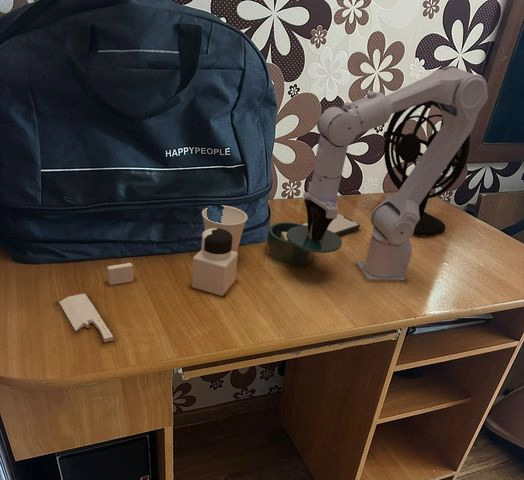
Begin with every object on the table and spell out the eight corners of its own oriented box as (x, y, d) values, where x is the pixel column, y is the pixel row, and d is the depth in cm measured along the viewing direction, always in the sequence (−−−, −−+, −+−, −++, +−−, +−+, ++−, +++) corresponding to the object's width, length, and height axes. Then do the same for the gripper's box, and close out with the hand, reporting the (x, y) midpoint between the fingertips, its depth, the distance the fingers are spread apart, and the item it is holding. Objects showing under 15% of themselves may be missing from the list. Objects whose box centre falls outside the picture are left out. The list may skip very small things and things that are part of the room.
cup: (236, 274, 111) (241, 228, 105) (193, 265, 112) (195, 218, 106) (246, 254, 119) (252, 210, 113) (206, 246, 120) (209, 201, 113)
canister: (305, 244, 127) (309, 223, 124) (317, 266, 119) (322, 244, 115) (262, 243, 125) (265, 221, 121) (271, 266, 116) (275, 242, 113)
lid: (331, 230, 116) (335, 212, 114) (348, 255, 107) (353, 237, 104) (280, 229, 113) (283, 210, 111) (293, 255, 104) (297, 235, 102)
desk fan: (353, 207, 152) (384, 78, 130) (393, 200, 161) (429, 78, 139) (421, 246, 135) (469, 106, 114) (461, 236, 144) (513, 104, 123)
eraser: (108, 282, 102) (107, 266, 100) (131, 278, 105) (130, 262, 103) (110, 285, 102) (109, 269, 99) (133, 281, 104) (132, 265, 102)
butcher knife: (84, 347, 85) (83, 342, 85) (59, 303, 95) (58, 298, 94) (113, 340, 88) (113, 335, 87) (86, 297, 97) (85, 292, 96)
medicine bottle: (235, 281, 109) (240, 230, 102) (222, 297, 103) (227, 243, 96) (205, 273, 110) (208, 221, 103) (191, 287, 105) (193, 234, 97)
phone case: (321, 243, 130) (360, 230, 139) (322, 237, 129) (362, 224, 138) (297, 229, 135) (337, 217, 144) (298, 224, 134) (338, 212, 143)
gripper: (299, 160, 106) (289, 221, 114) (318, 186, 95) (306, 251, 103) (330, 162, 107) (318, 222, 116) (353, 188, 96) (338, 252, 105)
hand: (314, 236), depth 109 cm, fingers closed on lid, 2 cm apart
